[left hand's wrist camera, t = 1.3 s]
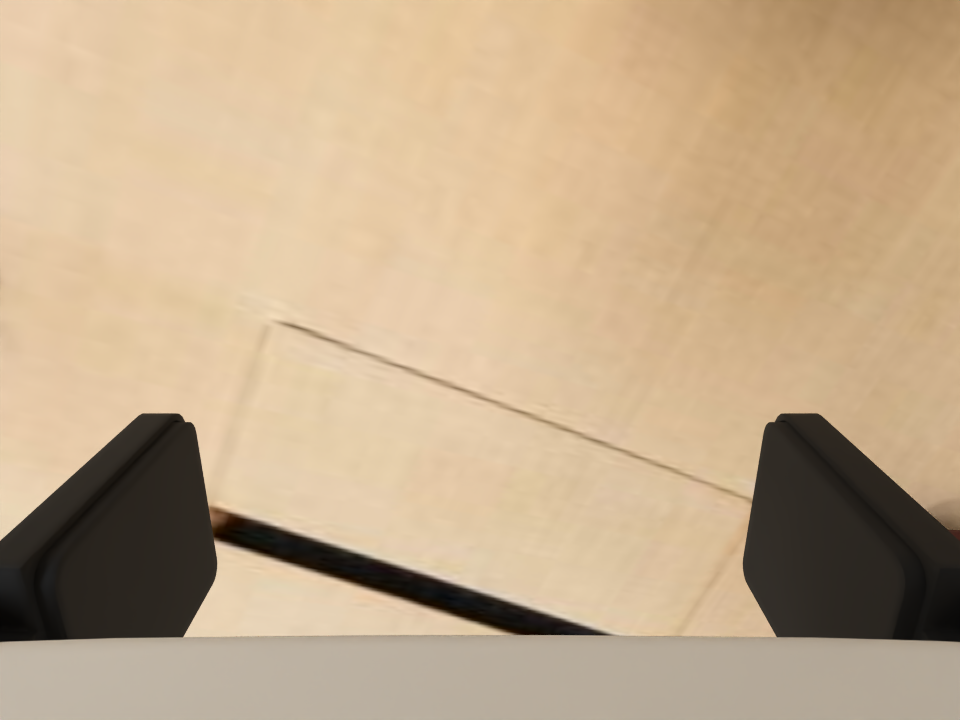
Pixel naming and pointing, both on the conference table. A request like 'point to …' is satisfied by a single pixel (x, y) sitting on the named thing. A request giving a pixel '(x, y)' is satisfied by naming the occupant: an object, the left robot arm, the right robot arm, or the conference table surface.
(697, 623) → the conference table surface
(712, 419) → the conference table surface
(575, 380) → the conference table surface
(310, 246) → the conference table surface
